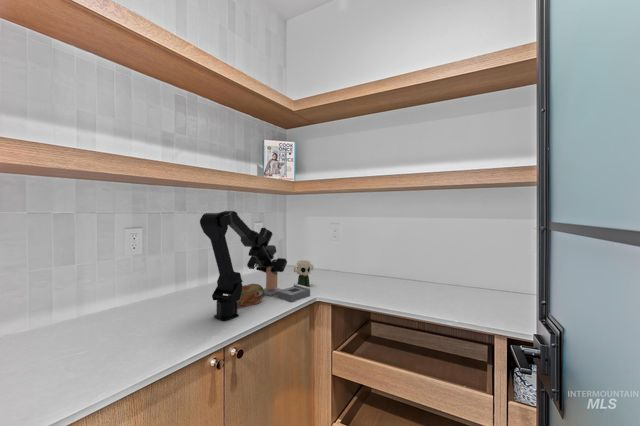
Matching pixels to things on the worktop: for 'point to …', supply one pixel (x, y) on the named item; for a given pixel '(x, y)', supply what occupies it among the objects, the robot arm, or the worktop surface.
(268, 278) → the tan rectangular block
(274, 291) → the mat
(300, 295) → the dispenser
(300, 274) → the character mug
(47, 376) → the worktop surface
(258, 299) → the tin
